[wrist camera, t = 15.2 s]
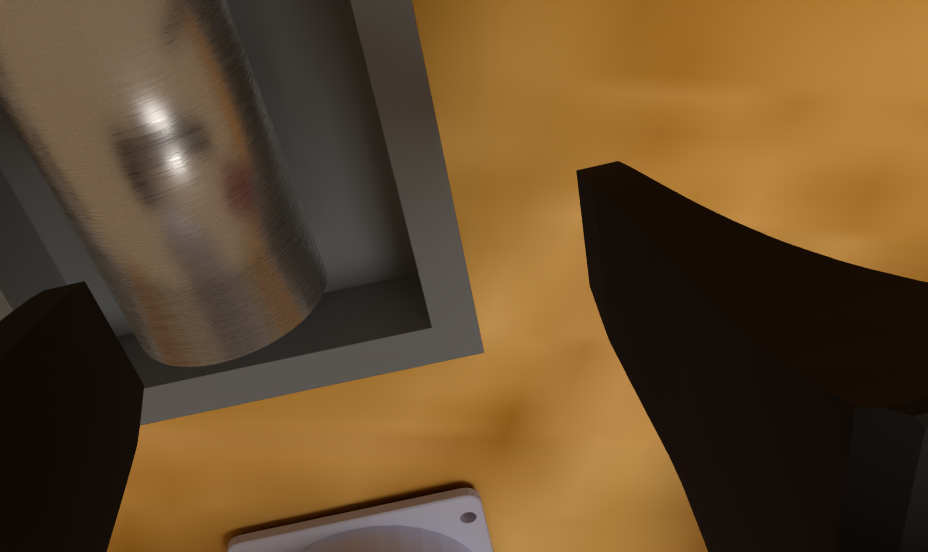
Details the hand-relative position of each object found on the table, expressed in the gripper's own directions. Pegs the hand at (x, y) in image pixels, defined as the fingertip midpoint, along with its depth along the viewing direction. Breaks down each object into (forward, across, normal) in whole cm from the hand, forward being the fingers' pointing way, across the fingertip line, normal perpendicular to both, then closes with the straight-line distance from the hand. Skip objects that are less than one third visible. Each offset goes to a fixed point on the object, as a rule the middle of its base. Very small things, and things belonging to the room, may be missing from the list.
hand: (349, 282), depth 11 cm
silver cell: (+6, +2, -2) cm, 6 cm away
